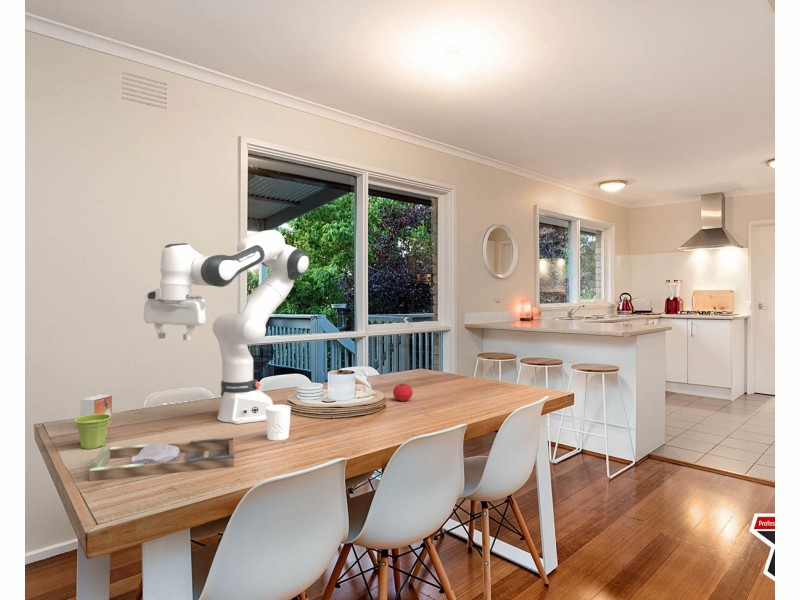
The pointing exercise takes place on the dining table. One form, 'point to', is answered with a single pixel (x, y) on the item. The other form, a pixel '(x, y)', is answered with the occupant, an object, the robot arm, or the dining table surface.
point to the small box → (96, 406)
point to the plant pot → (92, 430)
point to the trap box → (189, 464)
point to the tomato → (402, 392)
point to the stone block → (156, 454)
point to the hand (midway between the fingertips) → (174, 339)
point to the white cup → (278, 422)
